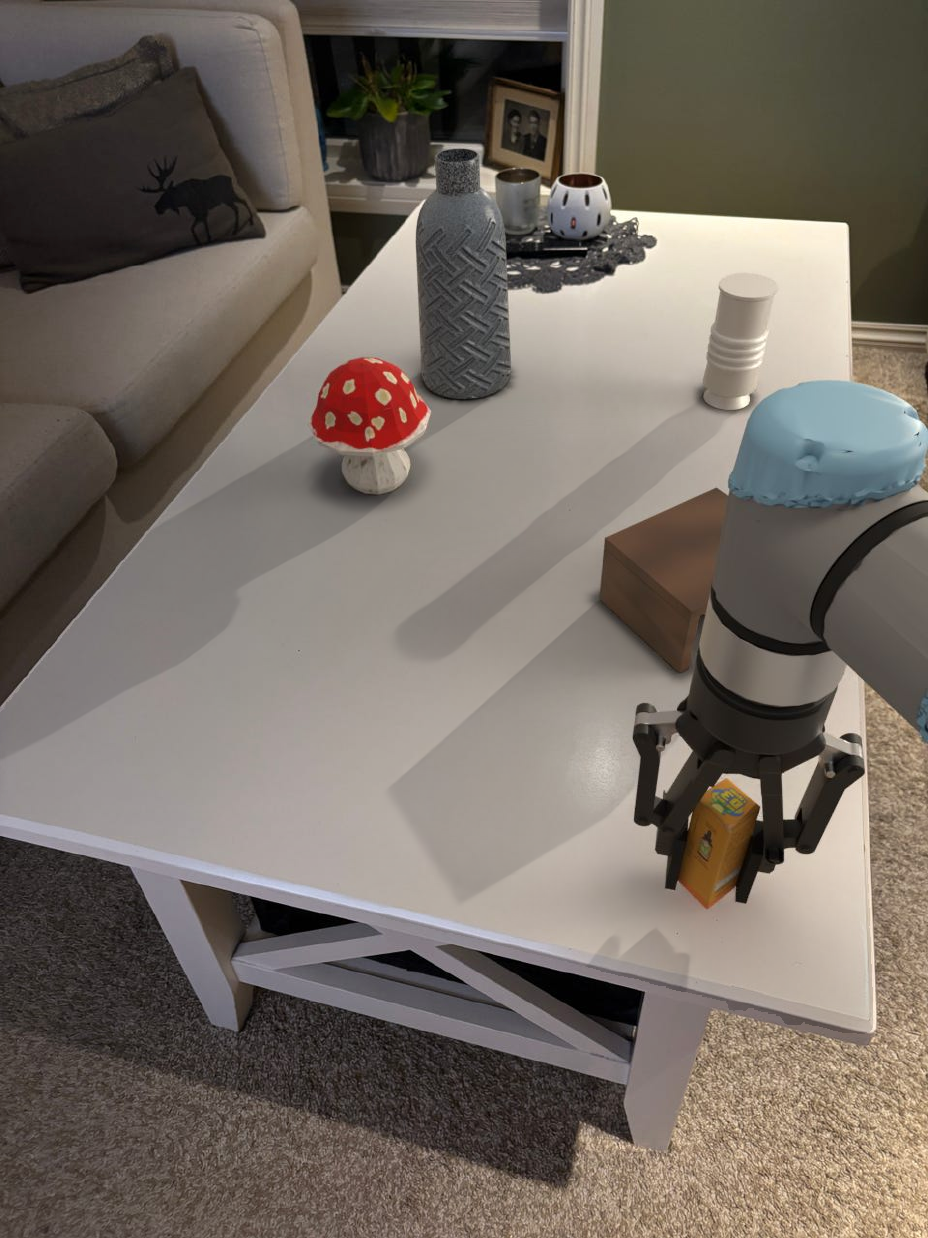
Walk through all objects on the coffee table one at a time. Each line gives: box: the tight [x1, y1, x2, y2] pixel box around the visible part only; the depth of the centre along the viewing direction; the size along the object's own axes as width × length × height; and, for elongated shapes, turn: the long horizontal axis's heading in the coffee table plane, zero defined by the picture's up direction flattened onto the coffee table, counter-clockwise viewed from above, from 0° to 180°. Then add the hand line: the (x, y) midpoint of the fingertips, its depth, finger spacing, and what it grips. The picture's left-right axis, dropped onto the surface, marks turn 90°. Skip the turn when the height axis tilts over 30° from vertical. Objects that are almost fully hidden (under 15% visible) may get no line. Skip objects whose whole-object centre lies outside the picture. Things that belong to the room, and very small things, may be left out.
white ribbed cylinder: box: [702, 272, 779, 411], centre depth 108 cm, size 7×7×15 cm
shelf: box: [598, 486, 729, 674], centre depth 84 cm, size 12×14×8 cm
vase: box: [415, 147, 512, 400], centre depth 110 cm, size 12×12×28 cm
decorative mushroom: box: [307, 356, 432, 495], centre depth 99 cm, size 14×14×15 cm
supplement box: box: [677, 778, 761, 910], centre depth 60 cm, size 3×3×10 cm
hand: (706, 879), depth 64 cm, fingers closed on supplement box, 4 cm apart
